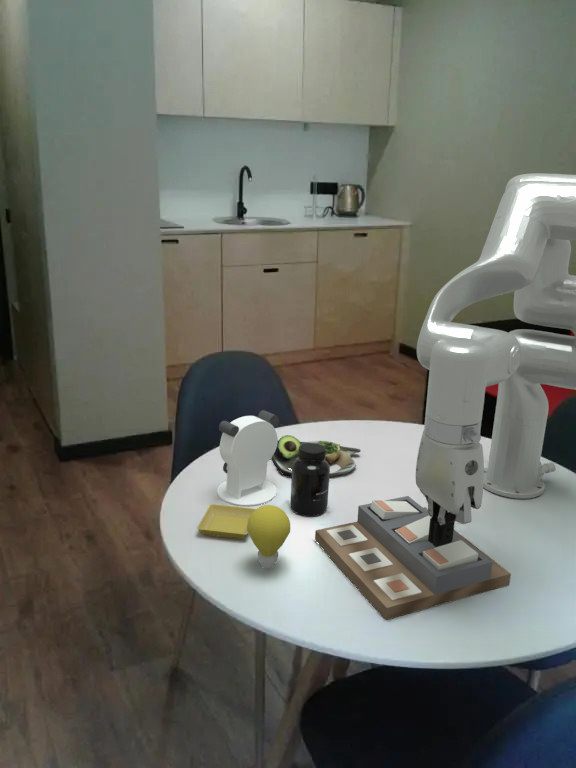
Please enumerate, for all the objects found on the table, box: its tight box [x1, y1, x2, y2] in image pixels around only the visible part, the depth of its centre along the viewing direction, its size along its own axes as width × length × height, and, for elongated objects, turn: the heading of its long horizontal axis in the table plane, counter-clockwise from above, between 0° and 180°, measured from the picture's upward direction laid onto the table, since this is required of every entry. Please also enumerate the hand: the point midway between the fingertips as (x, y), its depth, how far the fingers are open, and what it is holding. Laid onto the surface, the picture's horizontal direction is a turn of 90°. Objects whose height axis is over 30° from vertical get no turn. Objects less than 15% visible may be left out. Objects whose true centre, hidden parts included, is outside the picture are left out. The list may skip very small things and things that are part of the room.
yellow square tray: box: [196, 503, 257, 540], centre depth 115 cm, size 9×9×2 cm
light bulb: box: [247, 504, 291, 570], centre depth 103 cm, size 7×7×10 cm
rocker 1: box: [371, 499, 419, 519], centre depth 113 cm, size 7×4×2 cm, turn 114°
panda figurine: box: [216, 409, 280, 507], centre depth 126 cm, size 12×11×15 cm
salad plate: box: [272, 434, 362, 478], centre depth 142 cm, size 19×18×5 cm
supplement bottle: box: [289, 443, 331, 517], centre depth 121 cm, size 7×7×12 cm
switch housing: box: [356, 495, 492, 595], centre depth 107 cm, size 10×22×3 cm, turn 24°
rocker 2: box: [395, 516, 432, 545], centre depth 106 cm, size 7×4×2 cm, turn 114°
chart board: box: [314, 506, 512, 621], centre depth 107 cm, size 22×22×2 cm
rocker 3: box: [423, 540, 478, 571], centre depth 100 cm, size 7×4×2 cm, turn 114°
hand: (440, 542), depth 99 cm, fingers closed
